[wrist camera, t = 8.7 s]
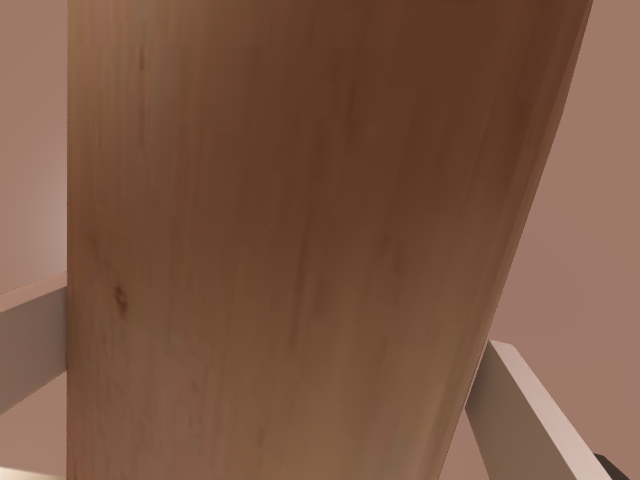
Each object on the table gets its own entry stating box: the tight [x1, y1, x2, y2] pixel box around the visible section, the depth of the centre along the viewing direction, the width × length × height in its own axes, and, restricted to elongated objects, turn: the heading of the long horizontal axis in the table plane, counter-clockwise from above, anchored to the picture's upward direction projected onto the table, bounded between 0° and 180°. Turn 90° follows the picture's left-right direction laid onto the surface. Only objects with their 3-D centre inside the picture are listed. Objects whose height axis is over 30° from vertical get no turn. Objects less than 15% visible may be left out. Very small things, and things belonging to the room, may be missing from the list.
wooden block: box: [67, 0, 593, 480], centre depth 12 cm, size 10×10×20 cm
